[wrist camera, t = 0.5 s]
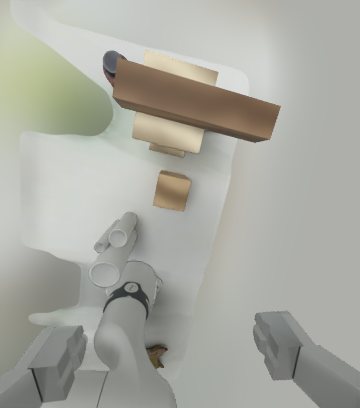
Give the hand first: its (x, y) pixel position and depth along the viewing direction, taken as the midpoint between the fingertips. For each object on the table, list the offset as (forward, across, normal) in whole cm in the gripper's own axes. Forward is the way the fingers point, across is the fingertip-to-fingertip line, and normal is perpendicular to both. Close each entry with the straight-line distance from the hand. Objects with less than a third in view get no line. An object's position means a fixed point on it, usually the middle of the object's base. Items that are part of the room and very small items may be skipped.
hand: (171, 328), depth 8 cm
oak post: (+46, +1, 0) cm, 46 cm away
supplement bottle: (+47, -10, +27) cm, 55 cm away
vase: (+46, -14, -14) cm, 50 cm away
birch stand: (+46, +1, +14) cm, 49 cm away
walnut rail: (+20, +4, +14) cm, 25 cm away
